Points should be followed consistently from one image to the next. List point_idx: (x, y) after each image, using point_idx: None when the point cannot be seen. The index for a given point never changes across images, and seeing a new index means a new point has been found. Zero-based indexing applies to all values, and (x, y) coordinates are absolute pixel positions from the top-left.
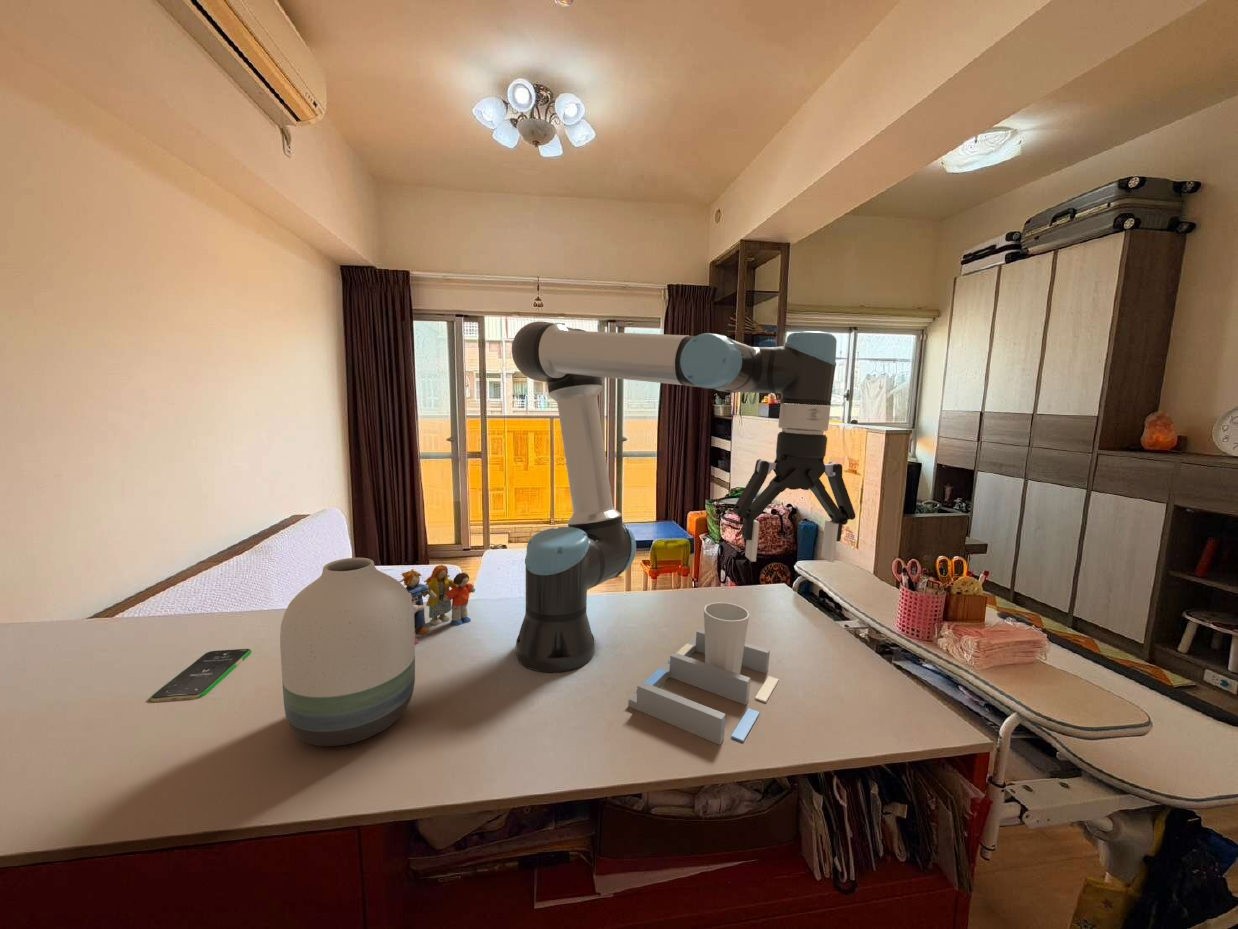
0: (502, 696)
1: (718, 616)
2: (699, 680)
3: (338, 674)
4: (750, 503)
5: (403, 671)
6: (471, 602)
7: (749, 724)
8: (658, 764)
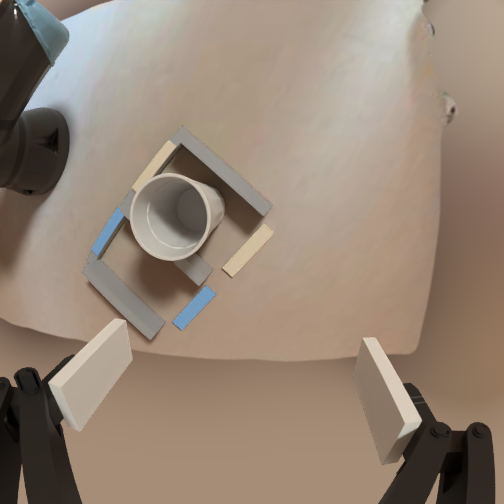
0: (14, 230)
1: (176, 179)
2: None
3: None
4: (20, 456)
5: None
6: None
7: (195, 311)
8: None
